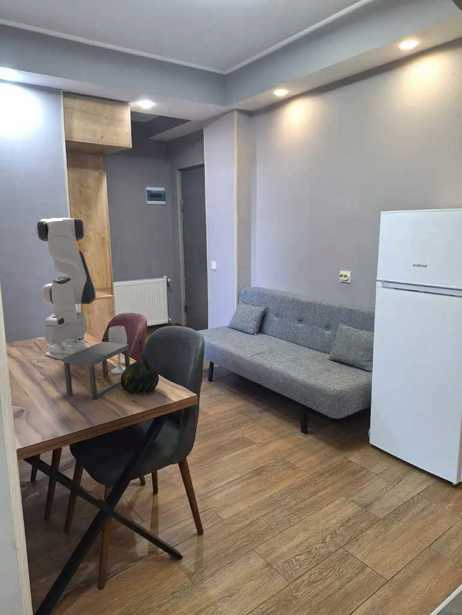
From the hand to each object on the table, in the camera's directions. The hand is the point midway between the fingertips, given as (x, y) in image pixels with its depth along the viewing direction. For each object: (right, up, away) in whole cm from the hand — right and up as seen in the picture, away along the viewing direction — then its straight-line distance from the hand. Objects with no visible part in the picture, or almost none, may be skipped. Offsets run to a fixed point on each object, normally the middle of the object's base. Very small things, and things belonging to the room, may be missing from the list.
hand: (68, 348), depth 178 cm
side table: (+13, -17, 0) cm, 21 cm away
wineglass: (+17, -13, +19) cm, 28 cm away
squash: (+32, -18, -5) cm, 37 cm away
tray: (-1, -2, +1) cm, 3 cm away
